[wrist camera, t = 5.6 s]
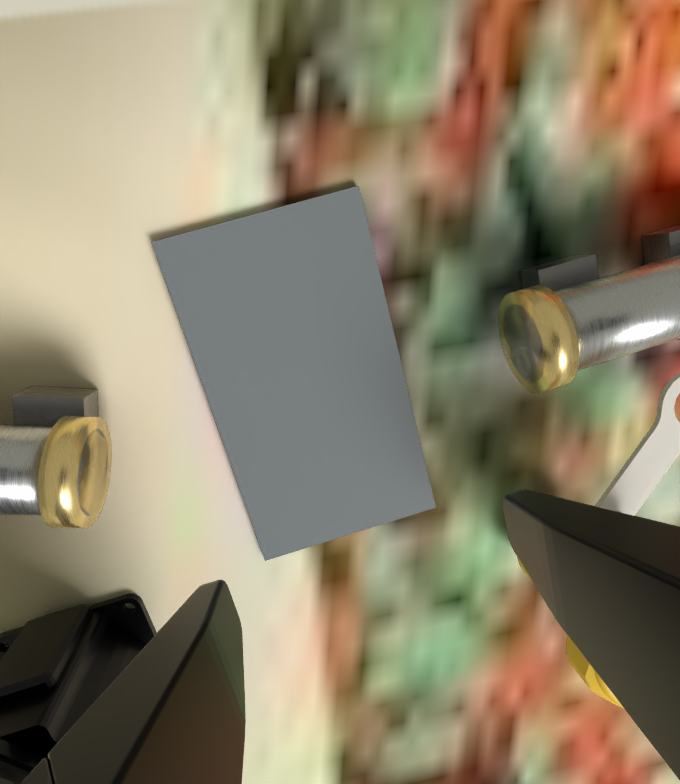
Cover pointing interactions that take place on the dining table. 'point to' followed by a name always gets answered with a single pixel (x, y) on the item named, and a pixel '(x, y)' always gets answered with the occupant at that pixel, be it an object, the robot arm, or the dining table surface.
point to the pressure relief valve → (635, 498)
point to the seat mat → (300, 369)
